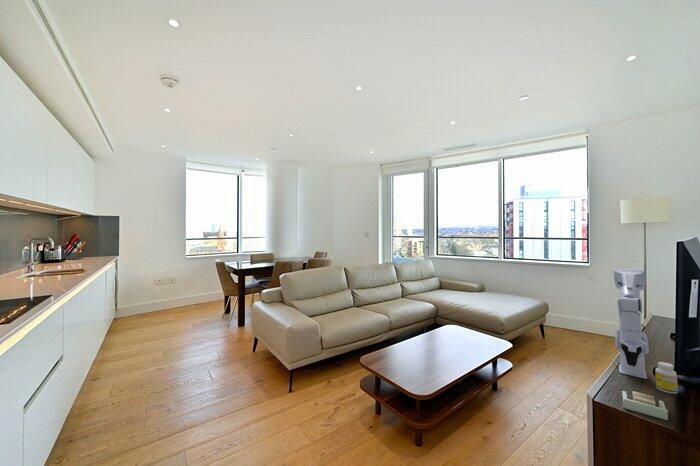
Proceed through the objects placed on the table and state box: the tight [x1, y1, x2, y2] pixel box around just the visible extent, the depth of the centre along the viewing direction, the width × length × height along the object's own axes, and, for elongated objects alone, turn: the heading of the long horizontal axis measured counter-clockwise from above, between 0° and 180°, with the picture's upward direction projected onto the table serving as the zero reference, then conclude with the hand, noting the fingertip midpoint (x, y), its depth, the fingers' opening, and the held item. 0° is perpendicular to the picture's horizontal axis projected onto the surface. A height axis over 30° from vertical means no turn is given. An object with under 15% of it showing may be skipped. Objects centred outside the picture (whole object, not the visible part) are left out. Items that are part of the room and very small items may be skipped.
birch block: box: [631, 390, 657, 407], centre depth 94 cm, size 5×5×4 cm
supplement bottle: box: [654, 361, 679, 395], centre depth 105 cm, size 5×5×10 cm
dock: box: [621, 390, 669, 421], centre depth 94 cm, size 9×10×3 cm
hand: (631, 365), depth 105 cm, fingers closed
